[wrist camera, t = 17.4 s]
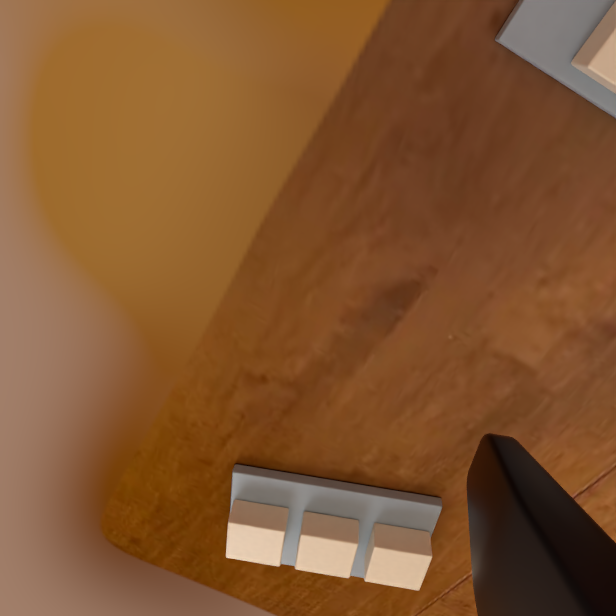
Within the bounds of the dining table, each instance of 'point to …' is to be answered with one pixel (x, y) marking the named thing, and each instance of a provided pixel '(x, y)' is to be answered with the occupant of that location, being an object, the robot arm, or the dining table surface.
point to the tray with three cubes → (331, 526)
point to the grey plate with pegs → (568, 44)
